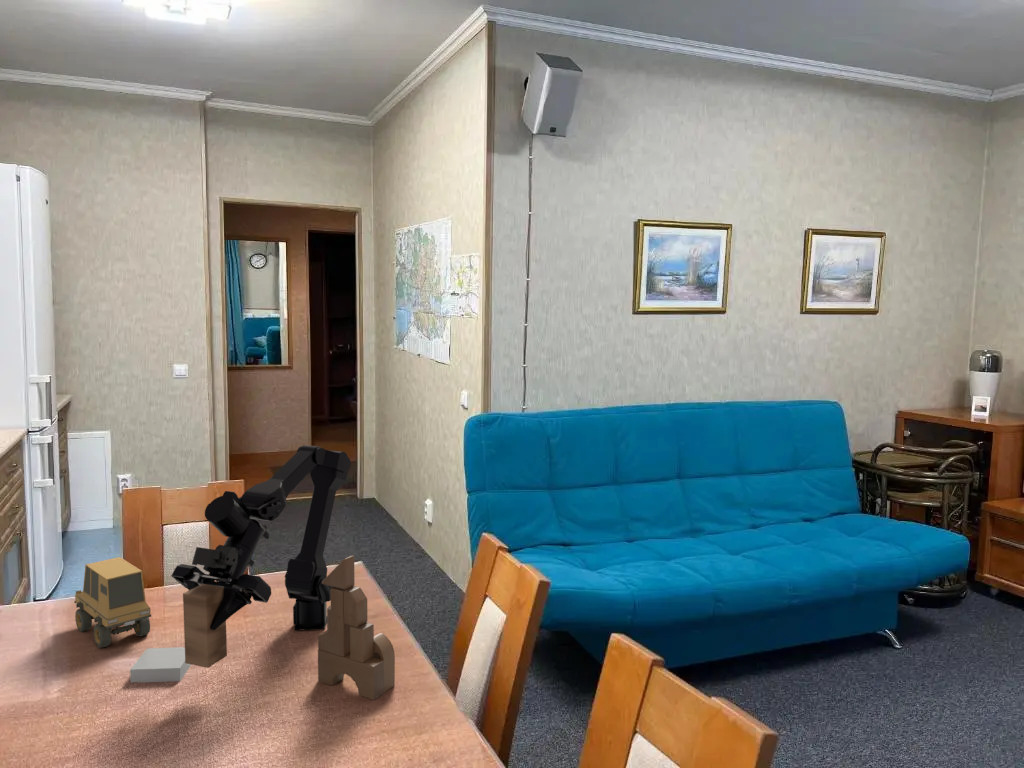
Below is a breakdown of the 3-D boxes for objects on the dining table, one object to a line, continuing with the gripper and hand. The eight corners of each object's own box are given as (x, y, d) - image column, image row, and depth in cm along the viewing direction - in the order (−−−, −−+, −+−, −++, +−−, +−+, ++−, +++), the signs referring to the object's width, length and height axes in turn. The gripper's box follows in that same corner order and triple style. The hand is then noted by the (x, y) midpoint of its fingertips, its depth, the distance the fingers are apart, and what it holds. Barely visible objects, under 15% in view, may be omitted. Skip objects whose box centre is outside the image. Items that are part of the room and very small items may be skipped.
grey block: (194, 661, 157) (194, 646, 157) (180, 683, 148) (180, 667, 148) (147, 662, 156) (147, 648, 156) (130, 684, 147) (130, 669, 147)
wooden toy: (397, 685, 148) (397, 556, 145) (373, 700, 142) (373, 567, 139) (335, 665, 156) (334, 542, 153) (311, 678, 150) (309, 551, 147)
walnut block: (204, 651, 146) (202, 583, 144) (227, 655, 144) (225, 587, 143) (185, 663, 141) (182, 593, 140) (207, 667, 140) (205, 597, 138)
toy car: (121, 613, 179) (118, 549, 177) (156, 639, 166) (153, 571, 164) (71, 626, 172) (68, 560, 170) (104, 655, 159) (101, 583, 157)
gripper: (176, 522, 147) (132, 600, 138) (260, 533, 141) (219, 616, 132) (207, 550, 155) (167, 625, 146) (287, 562, 149) (251, 642, 140)
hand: (199, 626), depth 141 cm, fingers closed on walnut block, 5 cm apart
